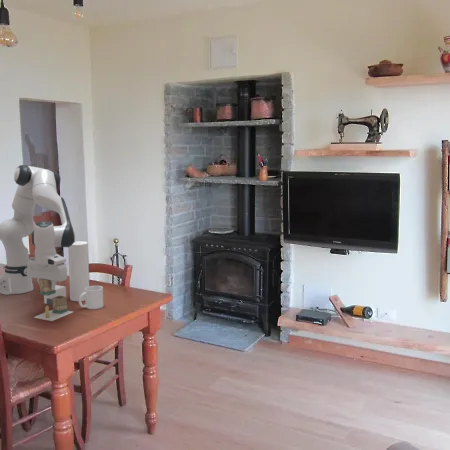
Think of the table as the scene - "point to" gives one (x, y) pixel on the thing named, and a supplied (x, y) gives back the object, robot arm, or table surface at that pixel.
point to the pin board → (51, 315)
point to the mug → (92, 297)
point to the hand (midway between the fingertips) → (47, 288)
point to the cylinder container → (78, 269)
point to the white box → (55, 294)
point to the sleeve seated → (59, 304)
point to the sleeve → (46, 287)
